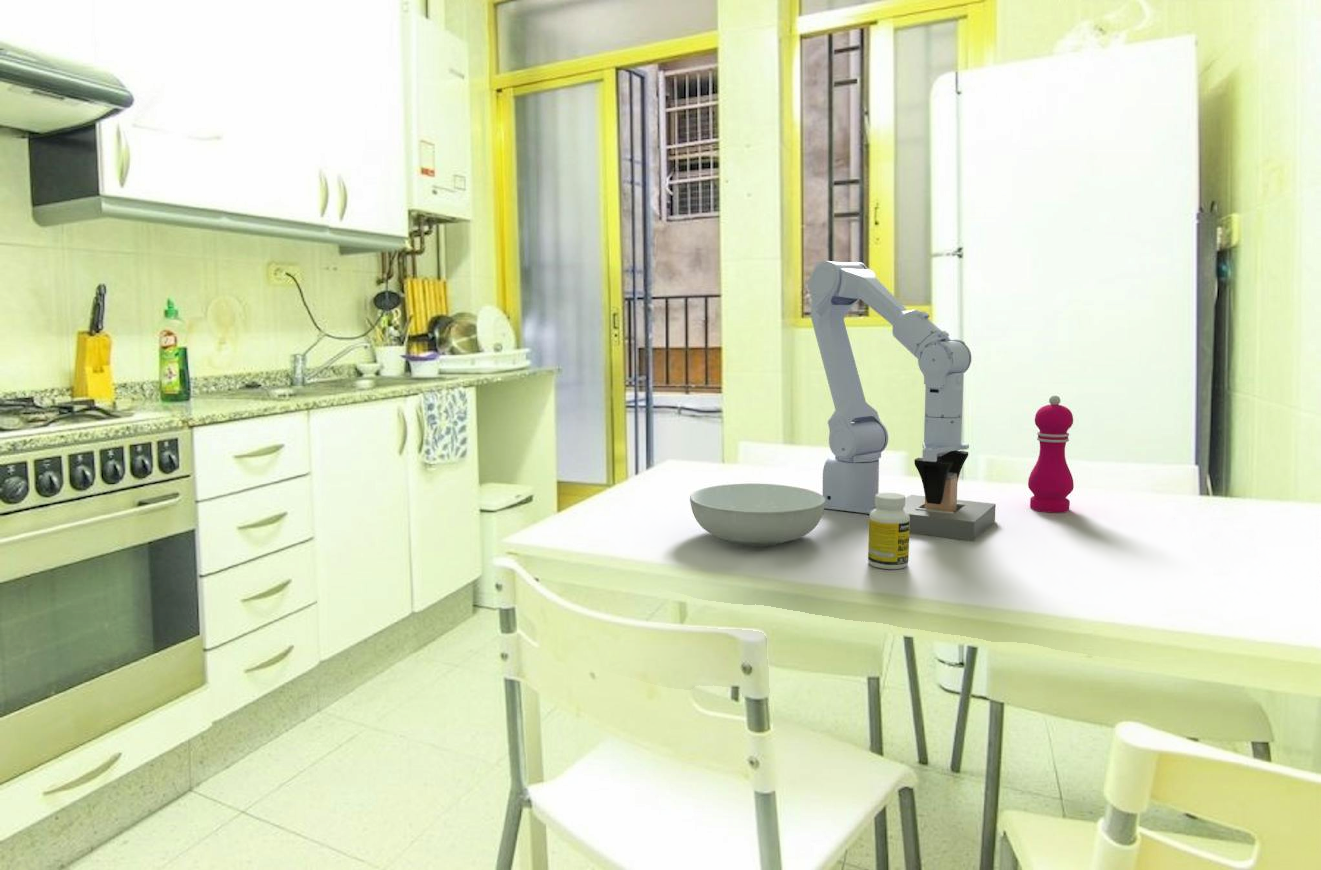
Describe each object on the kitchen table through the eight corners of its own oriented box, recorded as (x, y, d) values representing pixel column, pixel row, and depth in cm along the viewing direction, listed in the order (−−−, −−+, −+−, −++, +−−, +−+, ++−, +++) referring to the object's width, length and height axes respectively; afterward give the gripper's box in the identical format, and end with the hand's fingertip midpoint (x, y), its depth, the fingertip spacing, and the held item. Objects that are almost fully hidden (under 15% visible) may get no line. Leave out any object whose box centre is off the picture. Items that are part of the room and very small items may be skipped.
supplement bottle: (902, 572, 109) (904, 501, 107) (862, 566, 112) (864, 497, 110) (913, 562, 113) (915, 493, 112) (874, 556, 116) (876, 489, 115)
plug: (924, 526, 132) (925, 474, 131) (931, 521, 135) (932, 470, 134) (949, 529, 130) (950, 477, 129) (956, 524, 133) (957, 473, 132)
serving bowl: (812, 563, 114) (813, 515, 113) (672, 551, 121) (671, 506, 120) (834, 526, 133) (834, 485, 132) (712, 518, 141) (711, 479, 140)
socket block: (883, 529, 131) (883, 509, 131) (910, 511, 142) (911, 493, 142) (973, 541, 123) (974, 520, 123) (994, 521, 135) (995, 502, 134)
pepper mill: (1027, 511, 141) (1032, 397, 138) (1026, 503, 147) (1031, 393, 144) (1074, 515, 138) (1080, 397, 135) (1070, 505, 144) (1076, 394, 142)
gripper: (956, 422, 122) (953, 510, 124) (980, 412, 134) (977, 493, 136) (910, 419, 126) (907, 505, 128) (937, 410, 138) (934, 488, 140)
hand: (940, 498), depth 132 cm, fingers open, 7 cm apart
